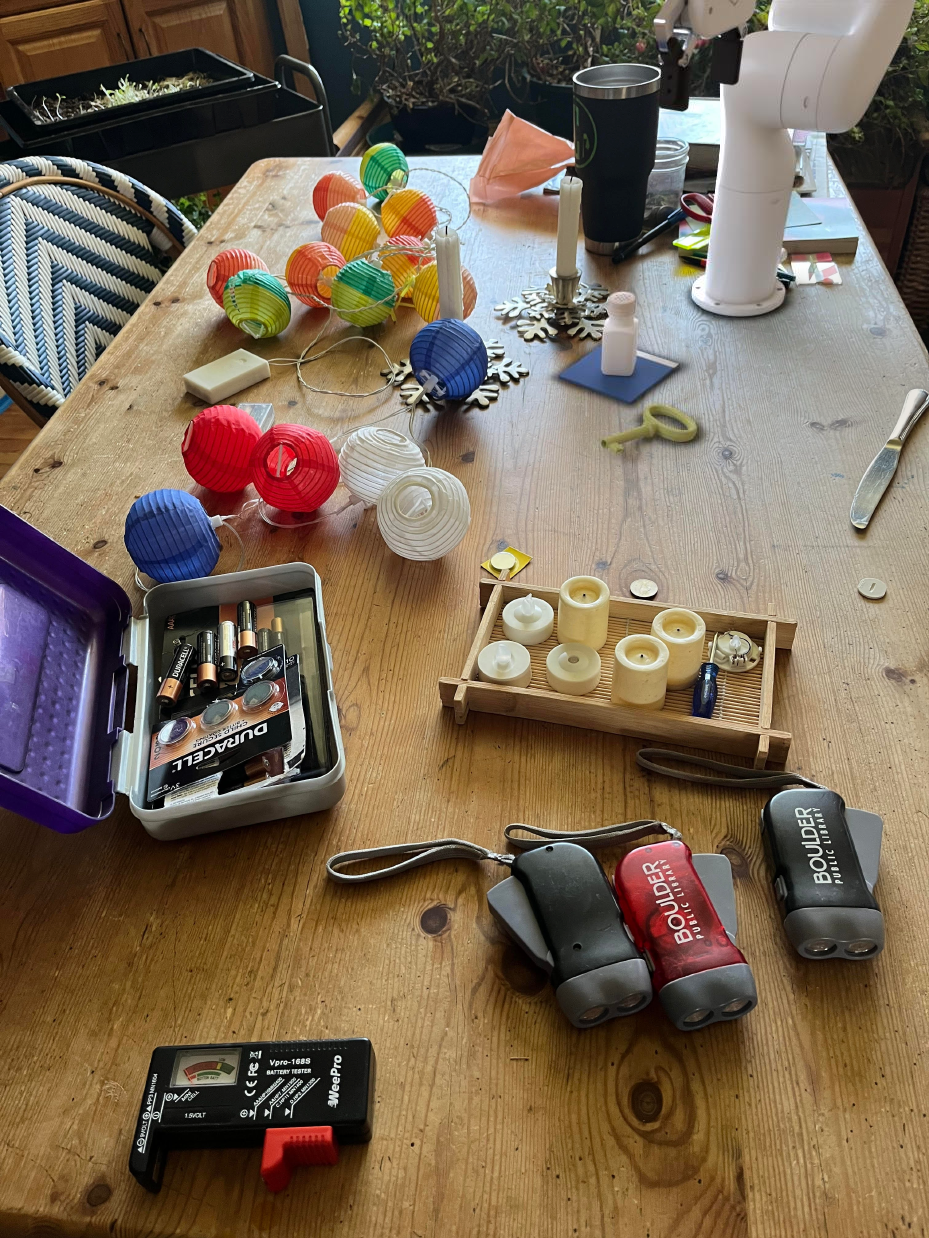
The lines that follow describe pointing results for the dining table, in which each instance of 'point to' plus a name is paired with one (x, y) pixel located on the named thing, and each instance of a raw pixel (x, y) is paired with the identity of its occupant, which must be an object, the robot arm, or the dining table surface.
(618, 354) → the pepper shaker
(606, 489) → the dining table surface
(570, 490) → the dining table surface
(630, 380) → the towel
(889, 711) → the dining table surface
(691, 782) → the dining table surface
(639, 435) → the key
